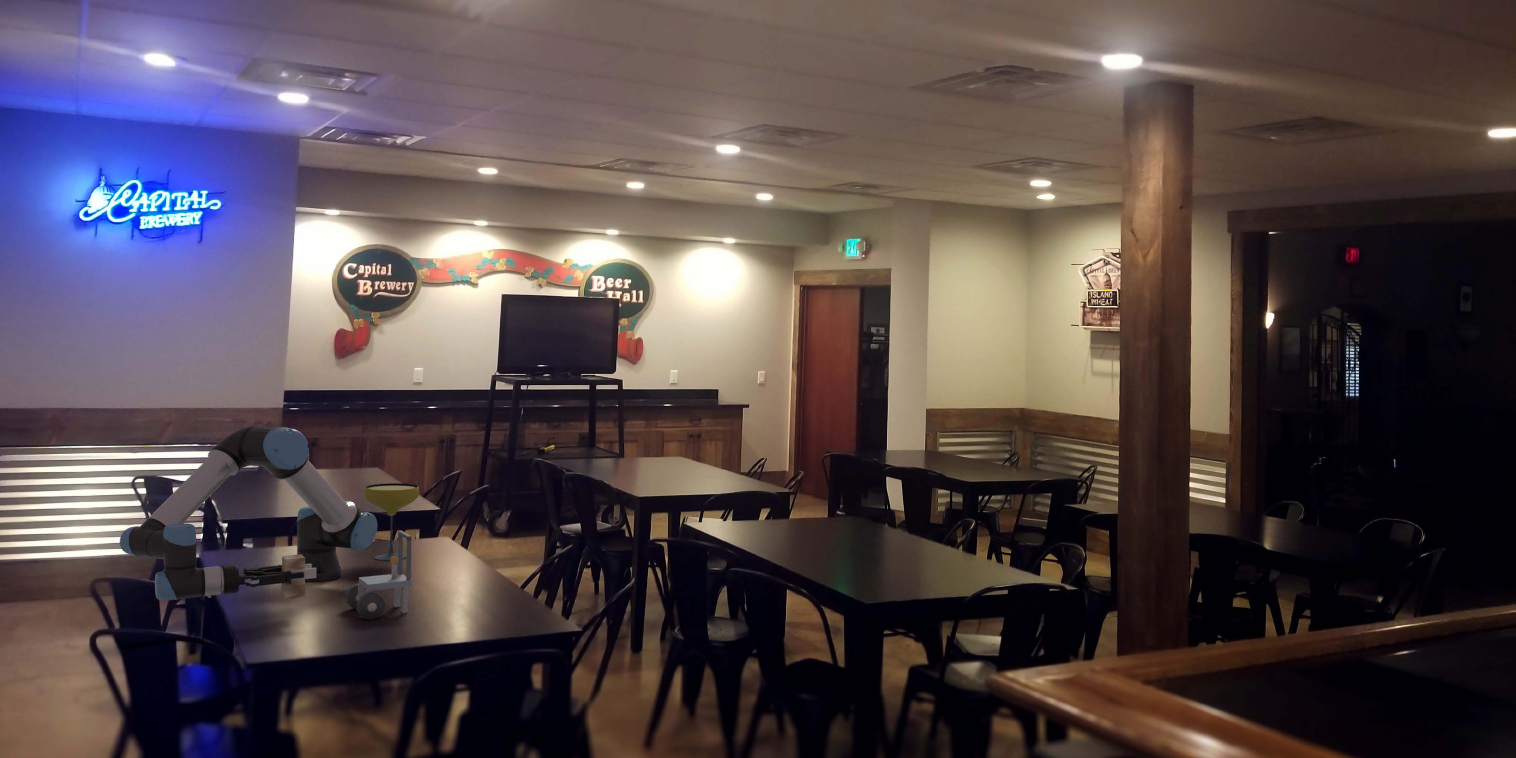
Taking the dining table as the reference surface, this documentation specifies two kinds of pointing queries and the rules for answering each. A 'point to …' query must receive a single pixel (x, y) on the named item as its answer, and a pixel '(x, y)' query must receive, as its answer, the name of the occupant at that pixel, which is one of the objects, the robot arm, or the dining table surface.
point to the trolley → (383, 586)
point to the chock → (296, 586)
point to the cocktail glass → (391, 504)
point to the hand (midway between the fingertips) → (313, 570)
